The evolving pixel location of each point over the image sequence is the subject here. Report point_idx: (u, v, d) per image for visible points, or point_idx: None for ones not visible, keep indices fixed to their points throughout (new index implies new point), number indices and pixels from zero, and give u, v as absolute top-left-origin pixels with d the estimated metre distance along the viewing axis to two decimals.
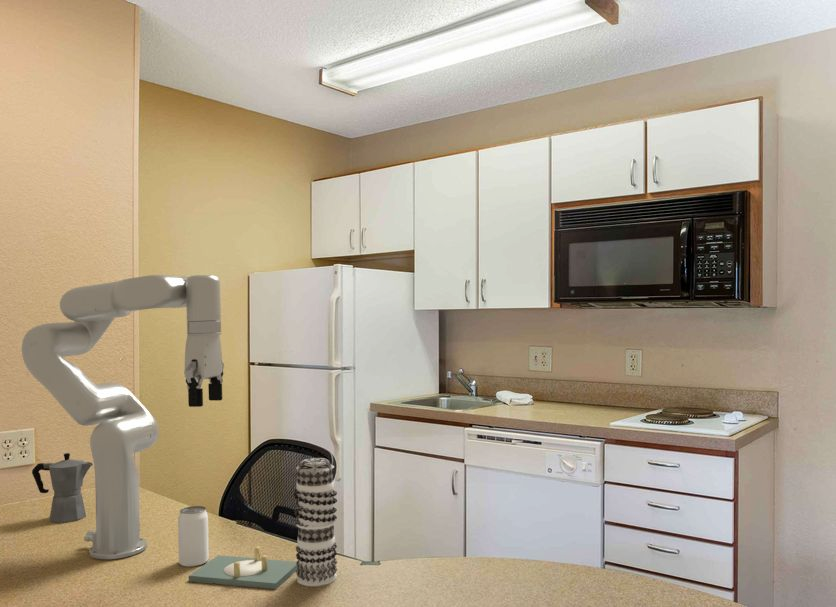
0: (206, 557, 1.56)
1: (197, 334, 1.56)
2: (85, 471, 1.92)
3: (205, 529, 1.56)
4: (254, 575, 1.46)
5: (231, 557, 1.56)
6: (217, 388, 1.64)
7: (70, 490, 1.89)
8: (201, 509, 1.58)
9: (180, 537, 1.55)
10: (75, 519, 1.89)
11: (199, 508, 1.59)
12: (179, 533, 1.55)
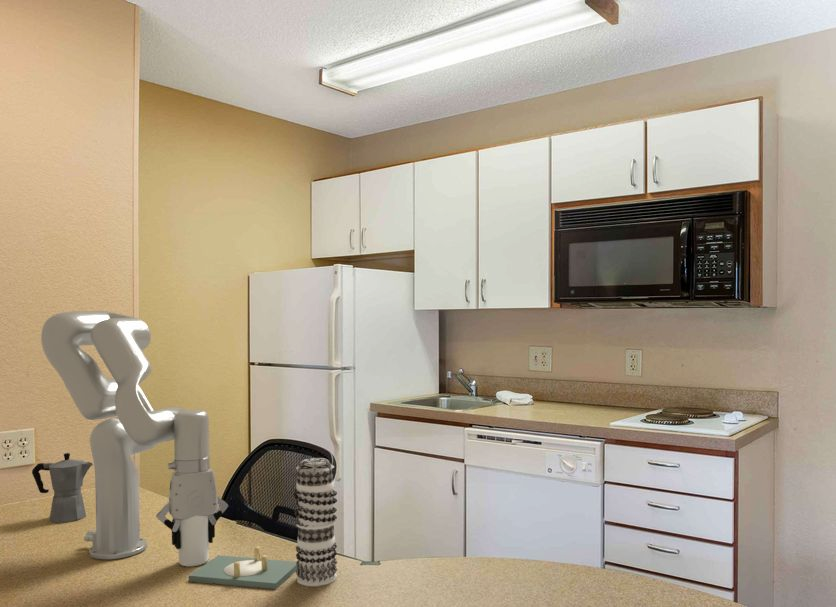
0: (206, 557, 1.56)
1: None
2: (85, 471, 1.92)
3: (205, 529, 1.56)
4: (254, 575, 1.46)
5: (231, 557, 1.56)
6: None
7: (70, 490, 1.89)
8: None
9: (180, 537, 1.55)
10: (75, 519, 1.89)
11: None
12: None
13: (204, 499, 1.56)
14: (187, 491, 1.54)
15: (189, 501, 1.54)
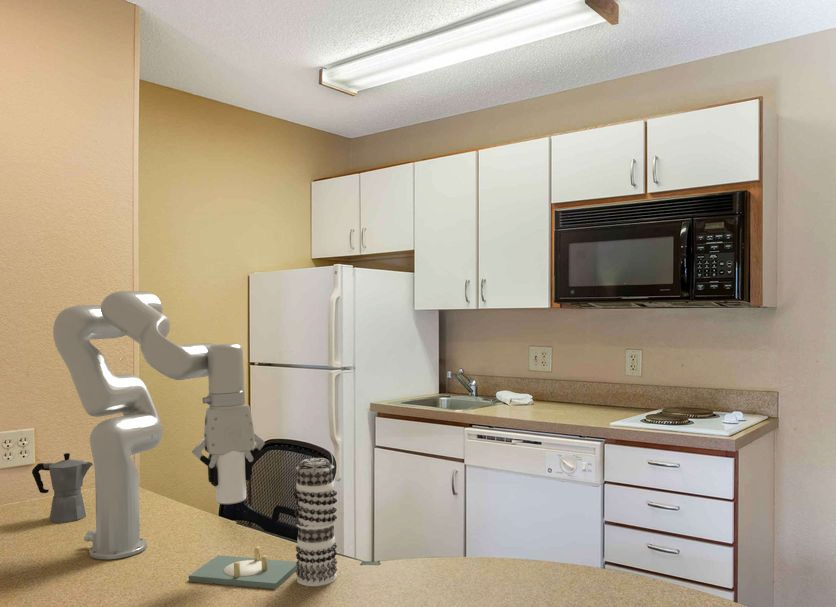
0: (244, 495, 1.51)
1: None
2: (85, 471, 1.92)
3: (243, 465, 1.51)
4: (254, 575, 1.46)
5: (231, 557, 1.56)
6: None
7: (70, 490, 1.89)
8: None
9: (217, 473, 1.49)
10: (75, 519, 1.89)
11: None
12: None
13: (241, 434, 1.50)
14: (223, 425, 1.48)
15: (225, 436, 1.49)
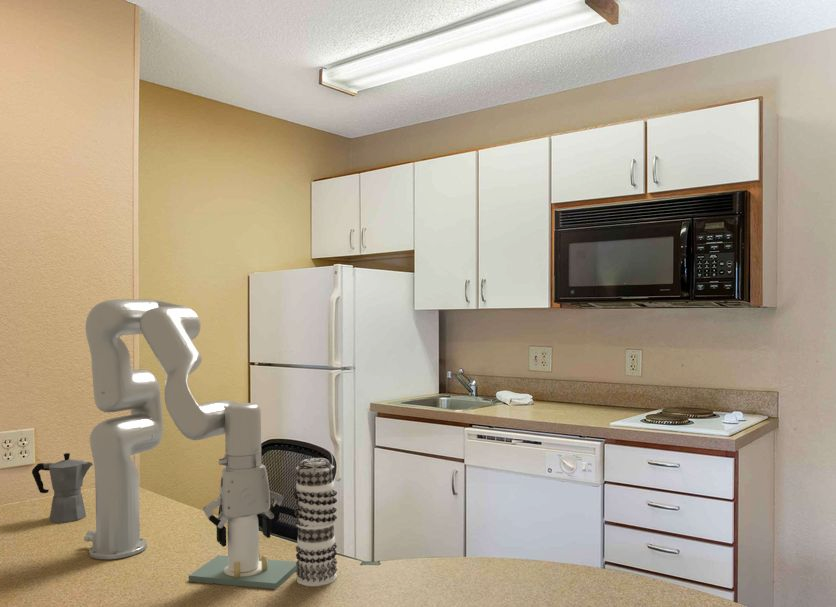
0: (257, 562, 1.49)
1: None
2: (85, 471, 1.92)
3: (256, 533, 1.49)
4: (254, 575, 1.46)
5: None
6: None
7: (70, 490, 1.89)
8: None
9: (230, 541, 1.47)
10: (75, 519, 1.89)
11: None
12: (229, 537, 1.48)
13: (256, 496, 1.48)
14: (239, 488, 1.46)
15: (241, 499, 1.47)
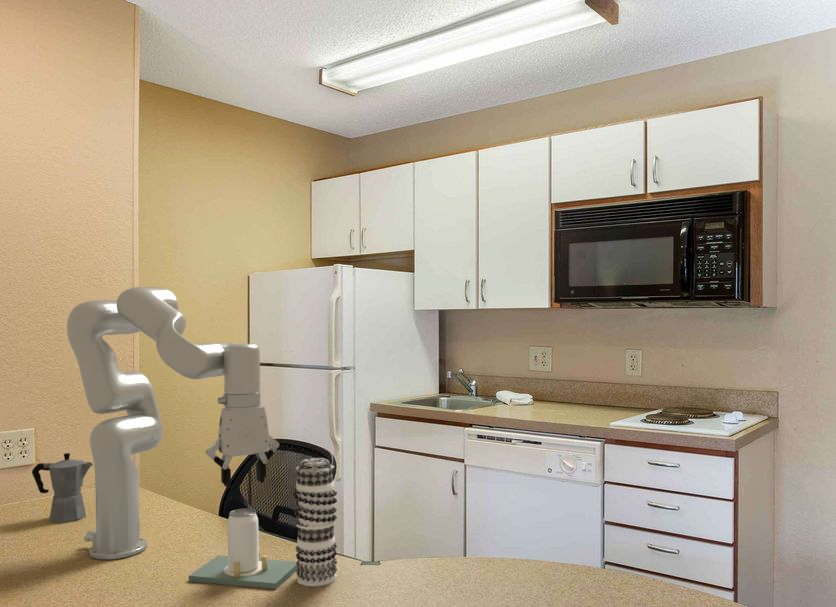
0: (257, 562, 1.49)
1: None
2: (85, 471, 1.92)
3: (256, 533, 1.49)
4: (254, 575, 1.46)
5: None
6: None
7: (70, 490, 1.89)
8: (250, 512, 1.51)
9: (230, 541, 1.47)
10: (75, 519, 1.89)
11: (248, 511, 1.51)
12: (229, 537, 1.48)
13: (255, 436, 1.48)
14: (238, 427, 1.46)
15: (240, 437, 1.47)
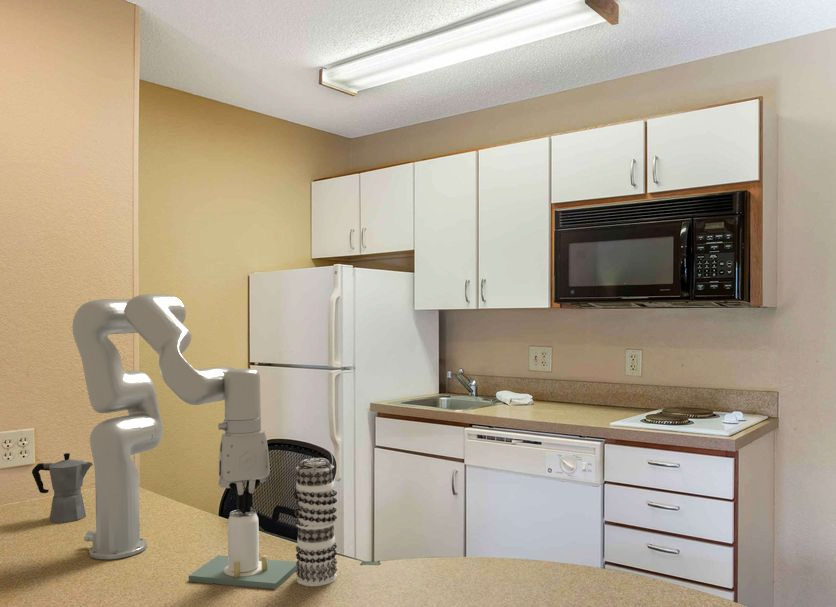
0: (257, 563, 1.49)
1: None
2: (85, 471, 1.92)
3: (256, 533, 1.49)
4: (254, 575, 1.46)
5: None
6: None
7: (70, 490, 1.89)
8: (251, 512, 1.51)
9: (230, 541, 1.47)
10: (75, 519, 1.89)
11: None
12: (229, 537, 1.47)
13: (256, 461, 1.48)
14: (239, 452, 1.46)
15: (241, 463, 1.47)
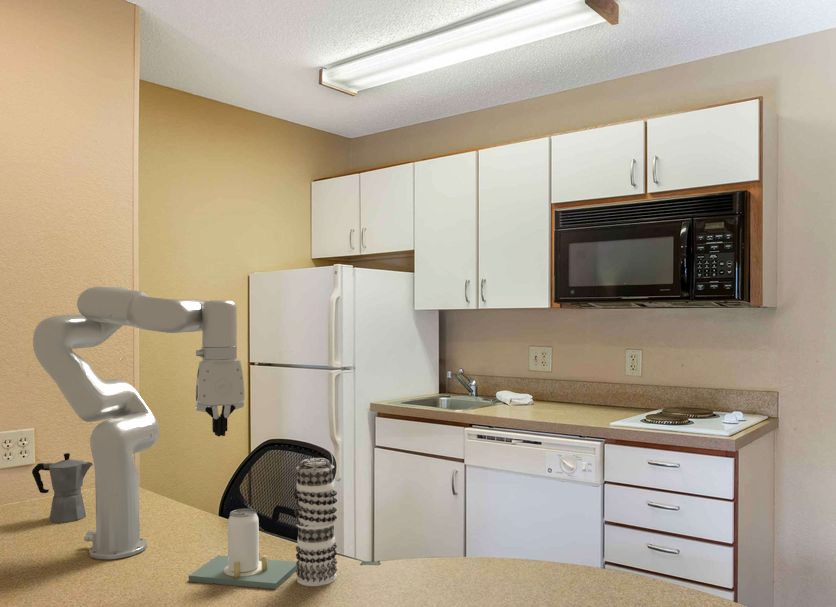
0: (257, 563, 1.49)
1: None
2: (85, 471, 1.92)
3: (256, 533, 1.49)
4: (254, 575, 1.46)
5: None
6: None
7: (70, 490, 1.89)
8: (251, 512, 1.51)
9: (230, 541, 1.47)
10: (75, 519, 1.89)
11: (249, 511, 1.51)
12: (229, 537, 1.48)
13: (231, 387, 1.56)
14: (215, 378, 1.54)
15: (216, 388, 1.54)
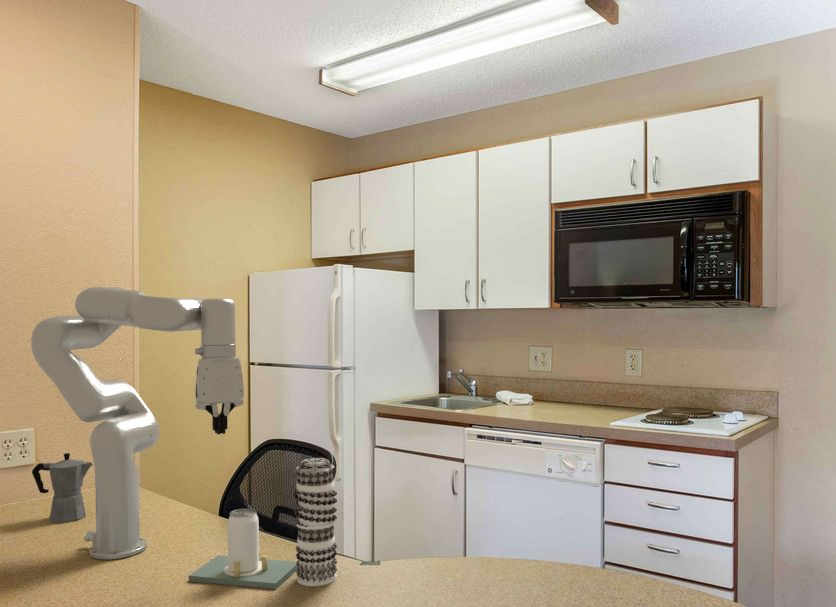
0: (257, 563, 1.49)
1: None
2: (85, 471, 1.92)
3: (256, 533, 1.49)
4: (254, 575, 1.46)
5: None
6: None
7: (70, 490, 1.89)
8: (251, 512, 1.51)
9: (230, 541, 1.47)
10: (75, 519, 1.89)
11: (249, 511, 1.51)
12: (229, 537, 1.48)
13: (231, 385, 1.56)
14: (214, 376, 1.54)
15: (216, 386, 1.55)
